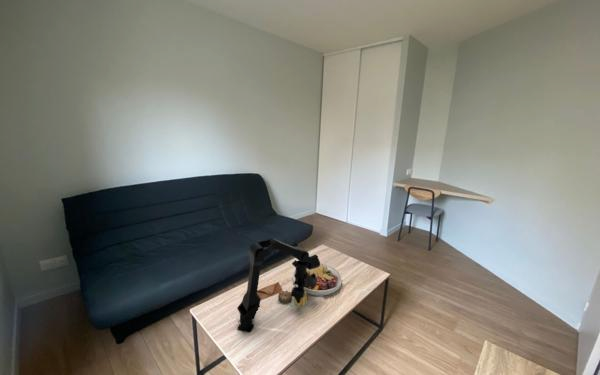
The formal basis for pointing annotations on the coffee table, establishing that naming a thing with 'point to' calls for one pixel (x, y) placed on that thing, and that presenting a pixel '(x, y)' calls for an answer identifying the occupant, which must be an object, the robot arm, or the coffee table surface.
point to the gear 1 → (284, 297)
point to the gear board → (293, 303)
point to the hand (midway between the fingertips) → (300, 298)
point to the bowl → (323, 280)
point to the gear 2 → (302, 301)
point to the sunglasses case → (269, 291)
